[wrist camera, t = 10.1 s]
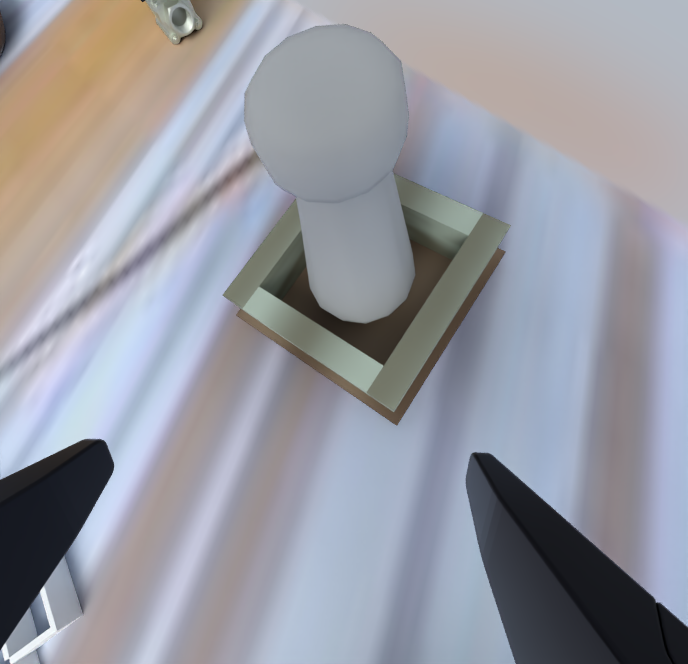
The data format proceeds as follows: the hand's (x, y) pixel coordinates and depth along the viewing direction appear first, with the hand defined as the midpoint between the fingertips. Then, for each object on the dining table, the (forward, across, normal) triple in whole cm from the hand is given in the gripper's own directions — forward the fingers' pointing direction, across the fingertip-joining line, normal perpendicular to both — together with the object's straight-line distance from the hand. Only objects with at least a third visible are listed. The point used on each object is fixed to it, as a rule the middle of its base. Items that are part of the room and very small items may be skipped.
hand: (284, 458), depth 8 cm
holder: (+14, -2, 0) cm, 14 cm away
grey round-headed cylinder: (+14, -2, 0) cm, 14 cm away
